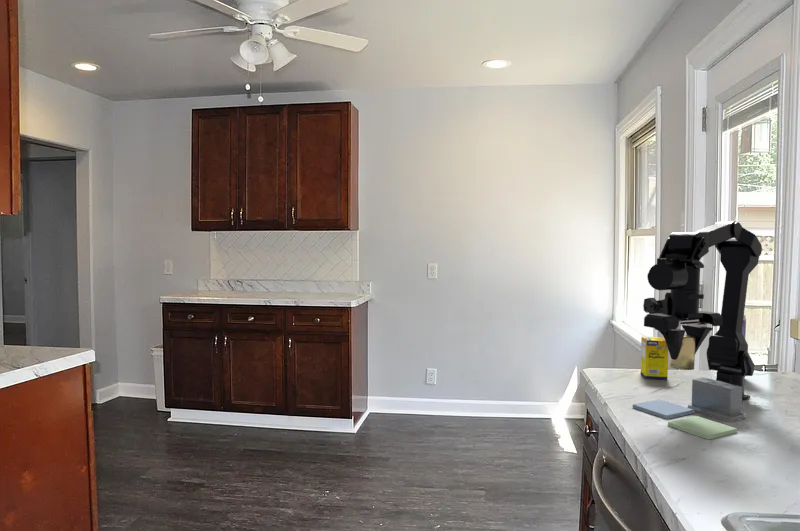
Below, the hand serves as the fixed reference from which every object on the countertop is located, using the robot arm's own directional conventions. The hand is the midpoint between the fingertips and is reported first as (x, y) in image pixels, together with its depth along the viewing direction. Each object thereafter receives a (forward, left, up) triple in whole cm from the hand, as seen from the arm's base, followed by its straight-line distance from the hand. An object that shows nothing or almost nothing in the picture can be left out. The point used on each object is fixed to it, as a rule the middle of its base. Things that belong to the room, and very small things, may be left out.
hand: (682, 358), depth 125 cm
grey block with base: (-7, +4, -12) cm, 15 cm away
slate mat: (+2, -3, -12) cm, 13 cm away
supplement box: (-23, -25, -13) cm, 36 cm away
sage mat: (+5, +9, -12) cm, 16 cm away
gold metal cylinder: (0, 0, -2) cm, 2 cm away
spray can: (-43, -15, -13) cm, 47 cm away
